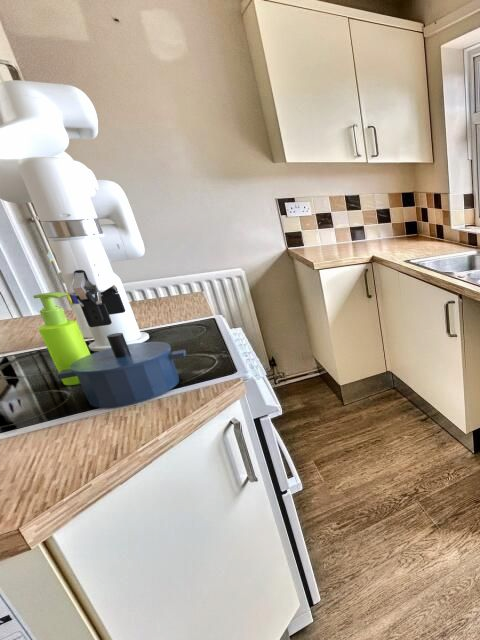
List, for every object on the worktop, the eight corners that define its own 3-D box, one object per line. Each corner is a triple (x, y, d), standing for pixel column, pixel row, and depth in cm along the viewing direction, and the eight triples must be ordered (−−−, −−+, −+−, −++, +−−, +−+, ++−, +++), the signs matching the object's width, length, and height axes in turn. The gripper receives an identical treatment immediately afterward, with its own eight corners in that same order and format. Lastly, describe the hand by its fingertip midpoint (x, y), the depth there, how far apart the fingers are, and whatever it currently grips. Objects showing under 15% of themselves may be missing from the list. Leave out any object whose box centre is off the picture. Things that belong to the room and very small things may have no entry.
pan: (85, 388, 91) (71, 356, 88) (197, 367, 100) (188, 338, 97) (59, 419, 79) (42, 383, 76) (189, 392, 88) (177, 359, 85)
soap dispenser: (86, 384, 92) (47, 296, 85) (55, 385, 93) (14, 297, 85) (110, 373, 98) (76, 289, 91) (81, 374, 98) (45, 290, 91)
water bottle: (82, 340, 120) (44, 252, 111) (79, 334, 126) (43, 249, 116) (120, 333, 126) (87, 248, 117) (116, 327, 131) (84, 246, 122)
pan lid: (87, 356, 90) (76, 331, 87) (177, 341, 97) (169, 318, 94) (58, 384, 77) (45, 355, 75) (164, 365, 84) (155, 338, 82)
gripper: (64, 228, 83) (97, 312, 89) (23, 236, 68) (66, 335, 74) (114, 225, 86) (142, 306, 92) (84, 232, 72) (121, 327, 78)
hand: (108, 319), depth 83 cm, fingers open, 9 cm apart
